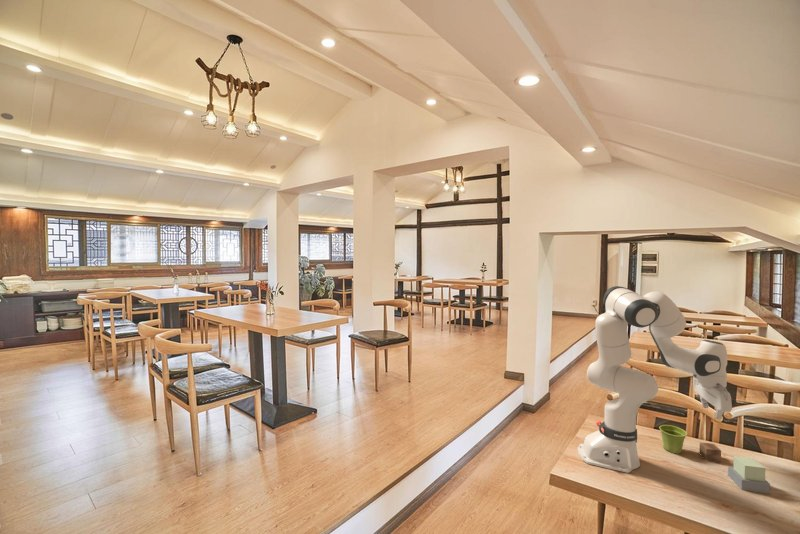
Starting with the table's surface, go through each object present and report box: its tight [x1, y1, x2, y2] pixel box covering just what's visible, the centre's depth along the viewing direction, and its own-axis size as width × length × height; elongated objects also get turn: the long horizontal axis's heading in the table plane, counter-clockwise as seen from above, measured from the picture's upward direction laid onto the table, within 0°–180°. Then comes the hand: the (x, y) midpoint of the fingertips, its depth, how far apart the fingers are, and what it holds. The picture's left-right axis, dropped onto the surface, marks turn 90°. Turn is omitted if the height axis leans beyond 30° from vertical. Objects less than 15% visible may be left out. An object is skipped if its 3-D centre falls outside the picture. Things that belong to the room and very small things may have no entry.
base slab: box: [727, 466, 771, 495], centre depth 129 cm, size 8×8×4 cm
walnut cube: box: [699, 442, 722, 463], centre depth 146 cm, size 5×5×5 cm
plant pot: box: [659, 424, 688, 454], centre depth 152 cm, size 9×9×9 cm
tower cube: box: [732, 455, 766, 481], centre depth 129 cm, size 6×6×5 cm
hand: (711, 412), depth 145 cm, fingers open, 8 cm apart
